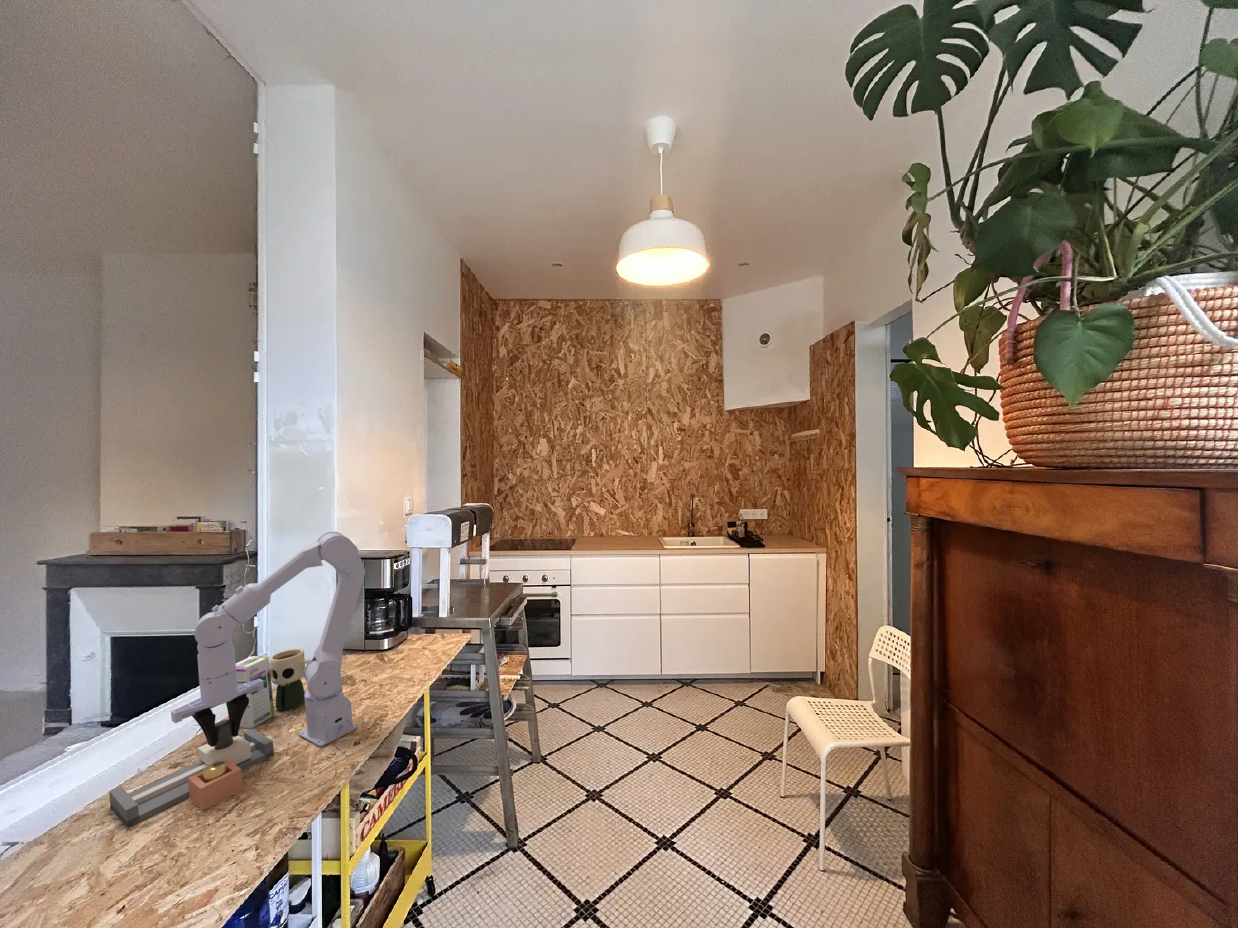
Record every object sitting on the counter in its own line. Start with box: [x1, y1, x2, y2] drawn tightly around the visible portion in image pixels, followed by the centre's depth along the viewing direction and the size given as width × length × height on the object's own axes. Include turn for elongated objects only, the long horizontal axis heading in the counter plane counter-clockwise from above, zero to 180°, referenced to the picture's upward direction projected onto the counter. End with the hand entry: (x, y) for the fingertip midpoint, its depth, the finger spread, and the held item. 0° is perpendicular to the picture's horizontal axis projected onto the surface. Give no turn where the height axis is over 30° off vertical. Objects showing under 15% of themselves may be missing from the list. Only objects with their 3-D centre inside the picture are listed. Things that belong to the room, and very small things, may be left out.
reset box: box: [188, 760, 244, 812], centre depth 90 cm, size 6×6×4 cm
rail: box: [108, 728, 275, 828], centre depth 95 cm, size 10×22×3 cm, turn 148°
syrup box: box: [235, 655, 275, 729], centre depth 115 cm, size 6×6×14 cm
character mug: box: [269, 648, 311, 711], centre depth 122 cm, size 11×7×13 cm, turn 94°
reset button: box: [203, 761, 226, 783], centre depth 90 cm, size 3×3×3 cm
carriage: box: [197, 719, 251, 765], centre depth 98 cm, size 8×6×7 cm
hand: (223, 739), depth 98 cm, fingers closed on carriage, 3 cm apart
